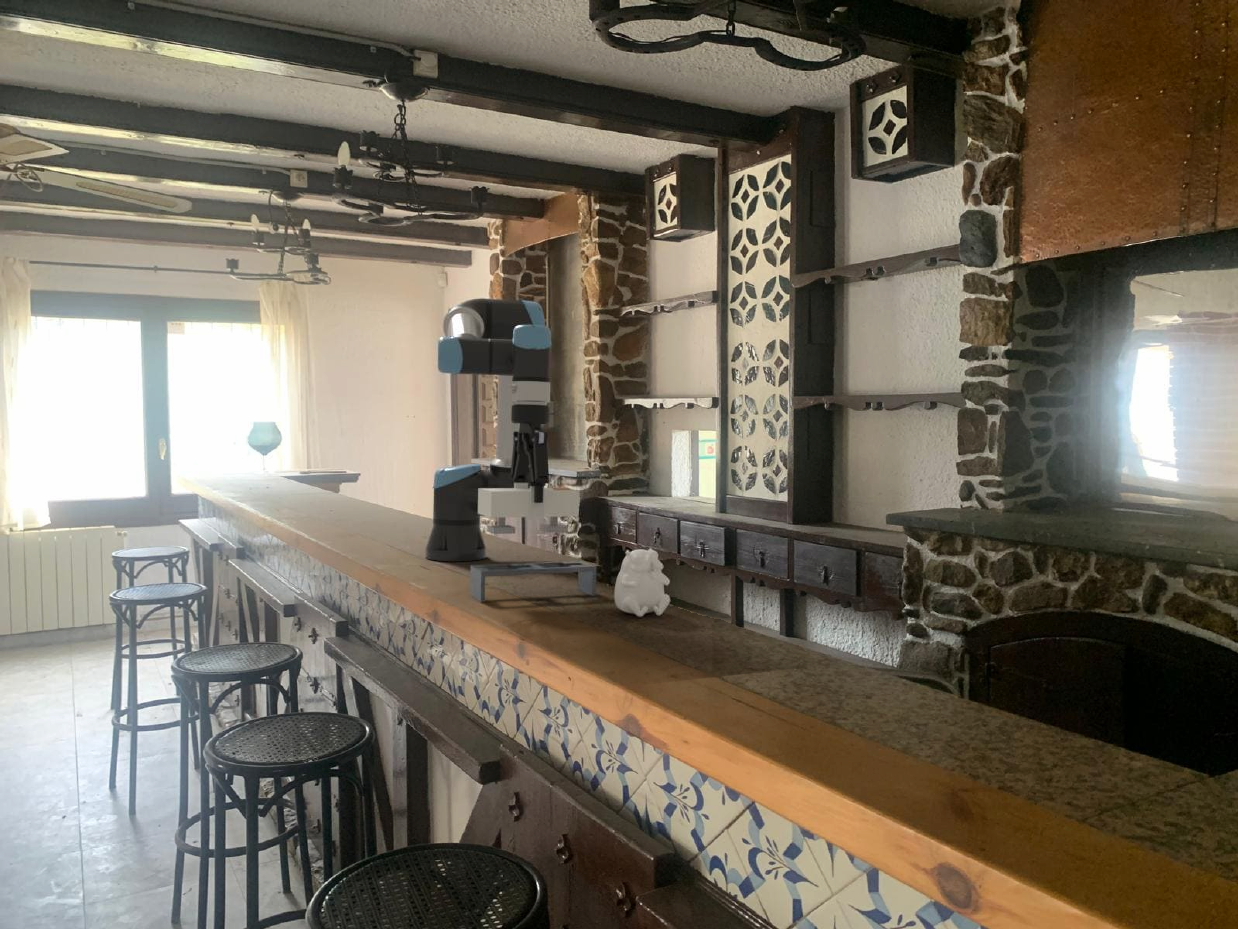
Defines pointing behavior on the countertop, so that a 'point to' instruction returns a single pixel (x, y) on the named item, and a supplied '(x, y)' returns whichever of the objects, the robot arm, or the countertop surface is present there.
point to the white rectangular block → (526, 507)
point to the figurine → (641, 584)
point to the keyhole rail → (583, 568)
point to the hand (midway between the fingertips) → (528, 517)
